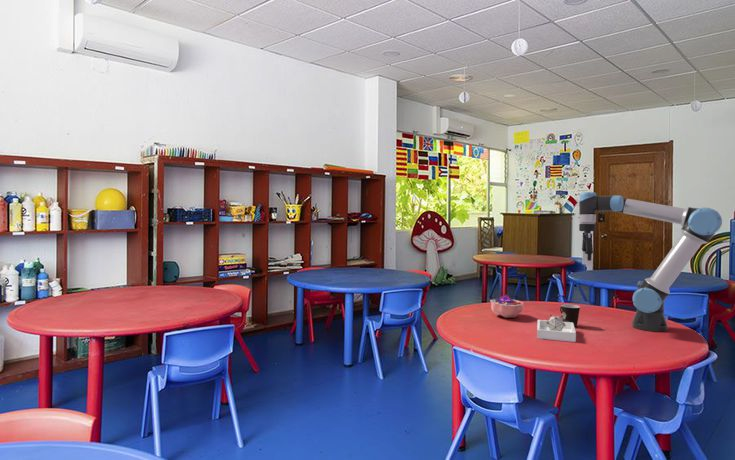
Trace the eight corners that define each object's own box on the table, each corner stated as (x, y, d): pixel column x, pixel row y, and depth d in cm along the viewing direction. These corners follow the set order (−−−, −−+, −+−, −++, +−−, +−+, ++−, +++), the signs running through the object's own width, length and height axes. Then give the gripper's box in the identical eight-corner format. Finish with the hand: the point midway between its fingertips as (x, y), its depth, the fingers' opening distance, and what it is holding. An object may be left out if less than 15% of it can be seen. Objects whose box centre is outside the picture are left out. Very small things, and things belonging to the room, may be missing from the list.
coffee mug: (581, 328, 238) (581, 308, 238) (562, 327, 240) (563, 307, 239) (576, 323, 249) (576, 303, 249) (558, 322, 251) (558, 302, 251)
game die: (558, 339, 228) (571, 322, 228) (557, 337, 220) (570, 319, 221) (542, 327, 232) (554, 311, 232) (540, 325, 225) (553, 308, 225)
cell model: (492, 320, 254) (493, 299, 253) (488, 312, 274) (488, 292, 273) (526, 321, 252) (526, 300, 251) (519, 313, 272) (519, 293, 271)
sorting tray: (572, 330, 234) (573, 322, 233) (575, 342, 214) (575, 333, 214) (537, 327, 239) (537, 319, 239) (537, 338, 219) (537, 329, 219)
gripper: (576, 222, 256) (576, 263, 257) (582, 223, 232) (582, 268, 233) (592, 222, 254) (591, 263, 255) (599, 223, 230) (599, 268, 231)
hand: (587, 265), depth 244 cm, fingers open, 13 cm apart
